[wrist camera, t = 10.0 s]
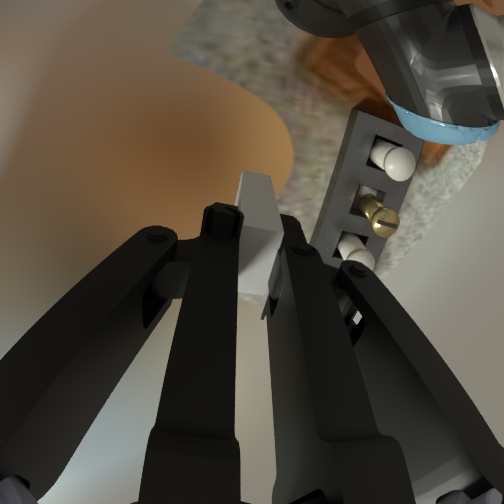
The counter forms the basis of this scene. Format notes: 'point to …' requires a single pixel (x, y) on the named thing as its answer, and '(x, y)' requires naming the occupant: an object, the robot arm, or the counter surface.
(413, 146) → the panel
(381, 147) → the knob
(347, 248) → the knob
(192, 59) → the counter surface
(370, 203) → the brass slotted knob
